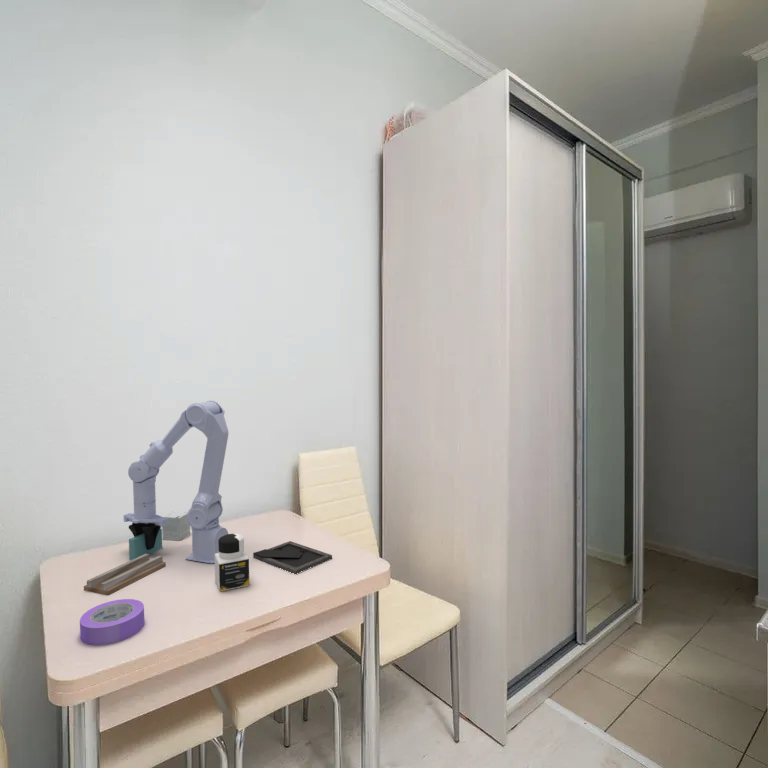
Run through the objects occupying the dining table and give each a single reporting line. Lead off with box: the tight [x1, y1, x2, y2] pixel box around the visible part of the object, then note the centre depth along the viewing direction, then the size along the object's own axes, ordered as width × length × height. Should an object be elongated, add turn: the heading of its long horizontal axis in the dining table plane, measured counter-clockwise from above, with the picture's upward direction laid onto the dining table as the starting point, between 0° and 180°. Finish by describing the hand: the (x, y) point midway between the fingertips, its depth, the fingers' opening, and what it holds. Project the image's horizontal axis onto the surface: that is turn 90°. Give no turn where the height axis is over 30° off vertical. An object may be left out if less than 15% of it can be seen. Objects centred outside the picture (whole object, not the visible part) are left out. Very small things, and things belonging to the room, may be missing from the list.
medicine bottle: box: [214, 533, 250, 592], centre depth 124 cm, size 7×7×12 cm
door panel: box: [128, 528, 163, 561], centre depth 144 cm, size 2×10×6 cm, turn 160°
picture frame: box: [252, 540, 333, 575], centre depth 139 cm, size 13×2×18 cm
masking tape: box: [79, 598, 146, 646], centre depth 103 cm, size 12×12×4 cm
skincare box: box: [161, 511, 191, 542], centre depth 158 cm, size 6×6×7 cm
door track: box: [83, 554, 167, 596], centre depth 128 cm, size 8×18×2 cm, turn 160°
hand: (146, 548), depth 144 cm, fingers open, 3 cm apart
